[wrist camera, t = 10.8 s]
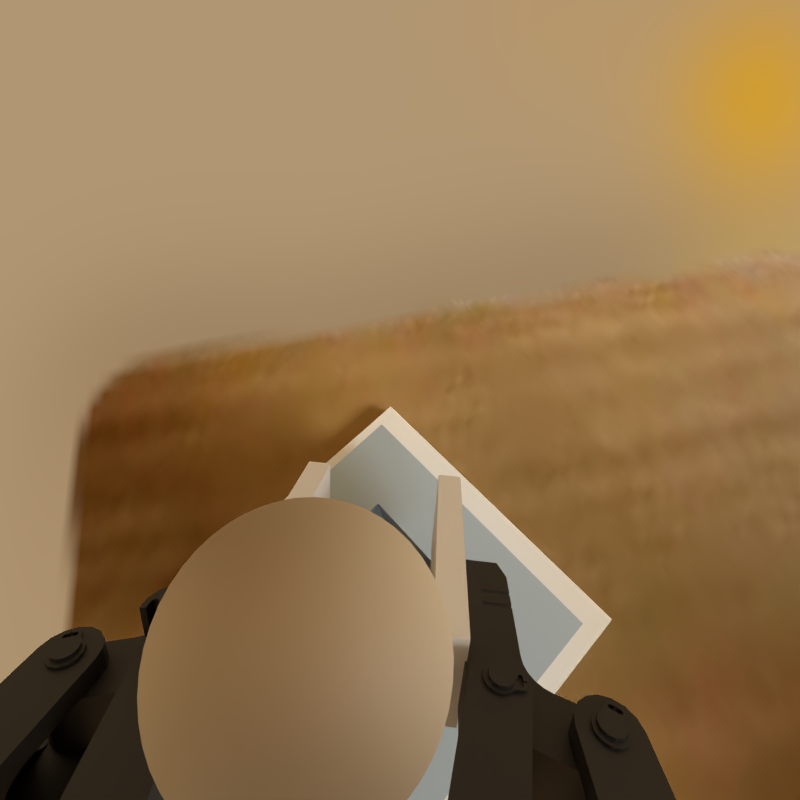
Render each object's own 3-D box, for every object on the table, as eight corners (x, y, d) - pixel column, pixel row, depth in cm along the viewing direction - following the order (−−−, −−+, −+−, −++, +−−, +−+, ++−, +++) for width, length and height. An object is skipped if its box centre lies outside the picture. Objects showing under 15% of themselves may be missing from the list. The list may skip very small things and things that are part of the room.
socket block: (391, 414, 27) (385, 356, 21) (602, 618, 22) (680, 626, 16) (173, 605, 23) (79, 608, 17) (372, 913, 18) (350, 1093, 11)
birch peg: (380, 545, 19) (319, 443, 7) (444, 618, 18) (520, 661, 5) (310, 614, 18) (80, 646, 6) (374, 696, 17) (261, 980, 4)
